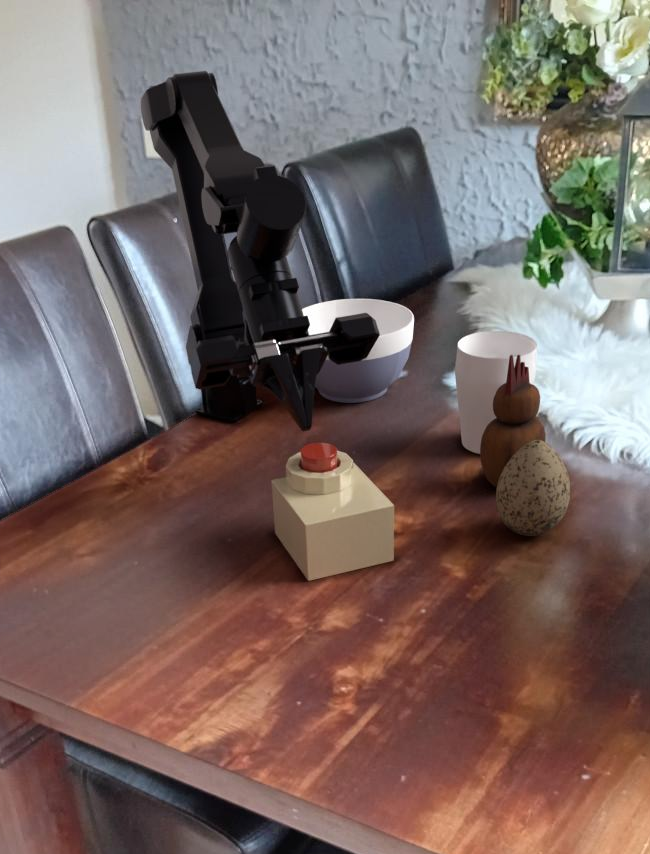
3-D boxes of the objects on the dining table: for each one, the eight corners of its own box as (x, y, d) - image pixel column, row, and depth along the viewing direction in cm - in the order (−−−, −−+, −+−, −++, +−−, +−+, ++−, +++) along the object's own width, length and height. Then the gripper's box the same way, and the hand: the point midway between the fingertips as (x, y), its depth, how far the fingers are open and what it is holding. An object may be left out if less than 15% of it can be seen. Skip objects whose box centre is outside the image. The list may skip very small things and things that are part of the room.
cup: (528, 462, 114) (538, 360, 107) (448, 459, 116) (453, 358, 109) (529, 429, 121) (538, 331, 114) (454, 426, 123) (458, 329, 116)
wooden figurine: (500, 501, 107) (511, 365, 98) (469, 480, 111) (476, 348, 102) (551, 484, 109) (566, 351, 101) (518, 465, 114) (530, 334, 105)
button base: (271, 528, 105) (265, 458, 100) (350, 510, 107) (349, 441, 102) (308, 581, 96) (304, 507, 92) (393, 561, 99) (394, 488, 94)
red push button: (296, 462, 100) (295, 446, 99) (329, 455, 101) (329, 439, 100) (308, 477, 97) (307, 461, 96) (343, 470, 98) (342, 454, 97)
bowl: (309, 421, 126) (306, 346, 121) (281, 376, 139) (277, 307, 133) (429, 403, 129) (431, 329, 123) (391, 361, 141) (391, 292, 136)
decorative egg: (479, 525, 103) (485, 435, 97) (537, 508, 105) (546, 419, 100) (519, 557, 98) (528, 464, 92) (580, 538, 100) (592, 447, 94)
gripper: (333, 312, 112) (371, 441, 110) (171, 339, 108) (208, 474, 106) (358, 257, 101) (402, 400, 99) (179, 284, 97) (221, 435, 95)
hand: (307, 429), depth 100 cm, fingers closed
